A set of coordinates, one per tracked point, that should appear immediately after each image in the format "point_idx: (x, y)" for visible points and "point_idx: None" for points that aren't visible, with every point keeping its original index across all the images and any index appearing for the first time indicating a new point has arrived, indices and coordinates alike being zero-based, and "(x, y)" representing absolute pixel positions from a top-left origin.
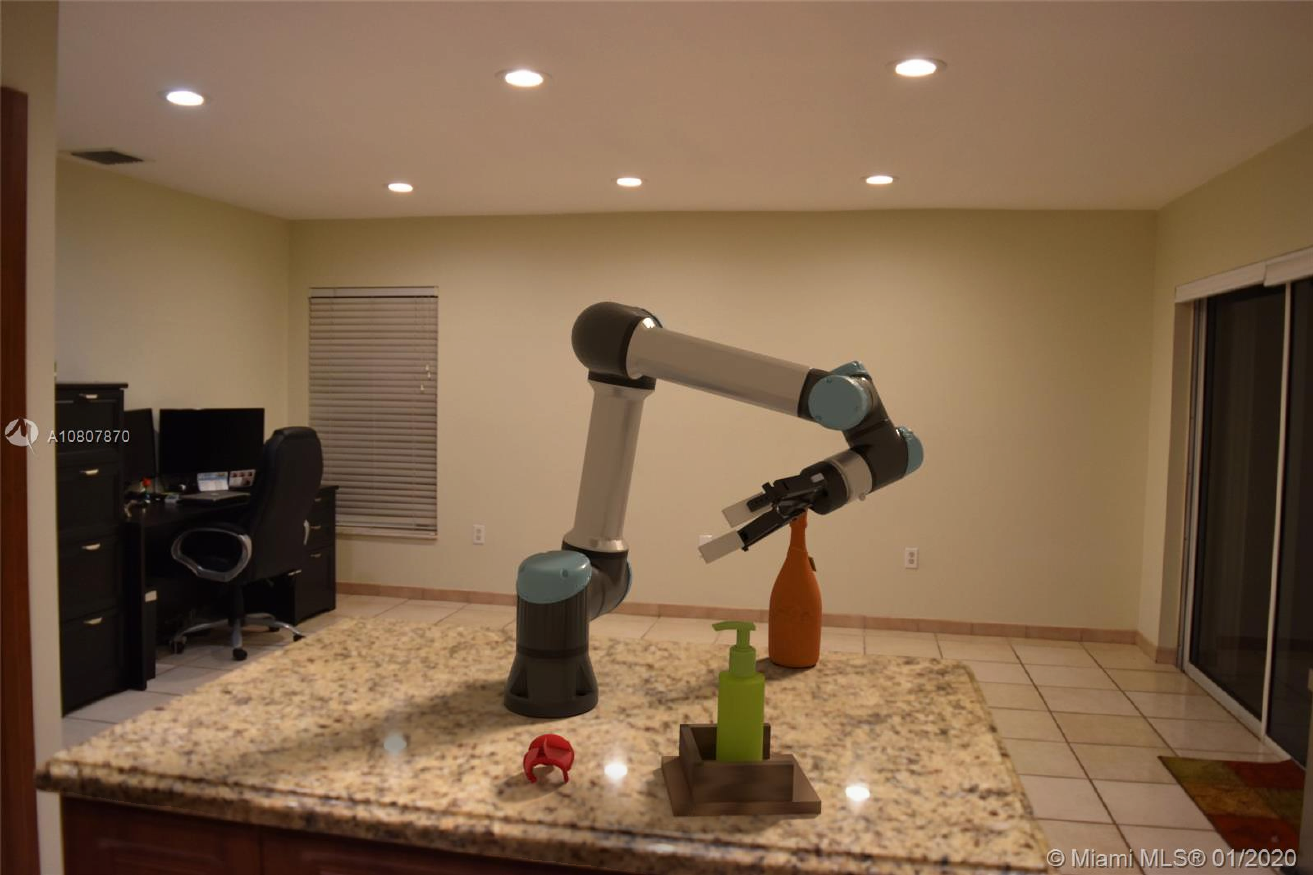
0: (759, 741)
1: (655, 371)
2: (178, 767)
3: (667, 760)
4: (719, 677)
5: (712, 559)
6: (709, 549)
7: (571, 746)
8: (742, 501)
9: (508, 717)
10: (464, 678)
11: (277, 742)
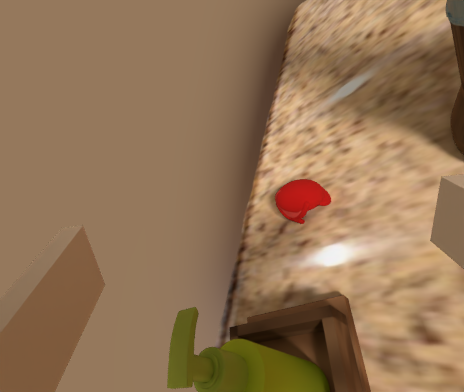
0: None
1: None
2: (295, 41)
3: (332, 303)
4: (233, 339)
5: (444, 250)
6: (461, 219)
7: (304, 209)
8: (11, 291)
9: (443, 114)
10: None
11: (335, 42)
